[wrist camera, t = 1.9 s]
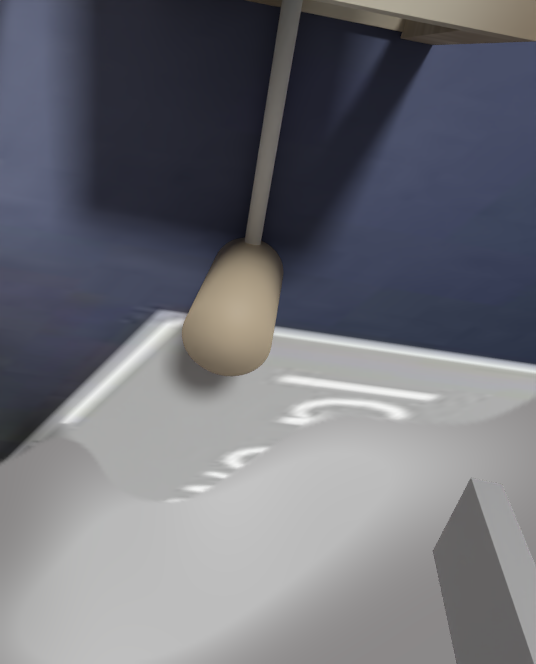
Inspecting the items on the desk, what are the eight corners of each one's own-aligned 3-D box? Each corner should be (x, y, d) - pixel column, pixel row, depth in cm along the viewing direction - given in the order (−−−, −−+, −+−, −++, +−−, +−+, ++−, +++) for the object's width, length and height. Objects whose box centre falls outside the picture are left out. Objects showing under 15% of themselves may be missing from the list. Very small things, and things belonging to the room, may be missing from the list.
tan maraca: (180, 289, 24) (141, 359, 19) (244, -407, 13) (193, -693, 8) (305, 314, 24) (300, 390, 19) (468, -361, 13) (561, -616, 8)
